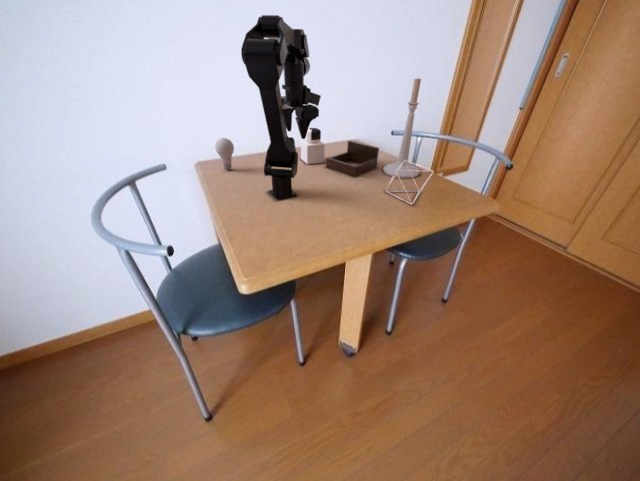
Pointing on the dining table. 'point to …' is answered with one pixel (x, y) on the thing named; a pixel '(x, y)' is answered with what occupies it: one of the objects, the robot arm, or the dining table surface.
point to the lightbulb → (225, 151)
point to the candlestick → (406, 141)
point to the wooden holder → (354, 159)
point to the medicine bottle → (312, 147)
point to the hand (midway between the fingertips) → (296, 134)
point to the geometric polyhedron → (413, 179)
